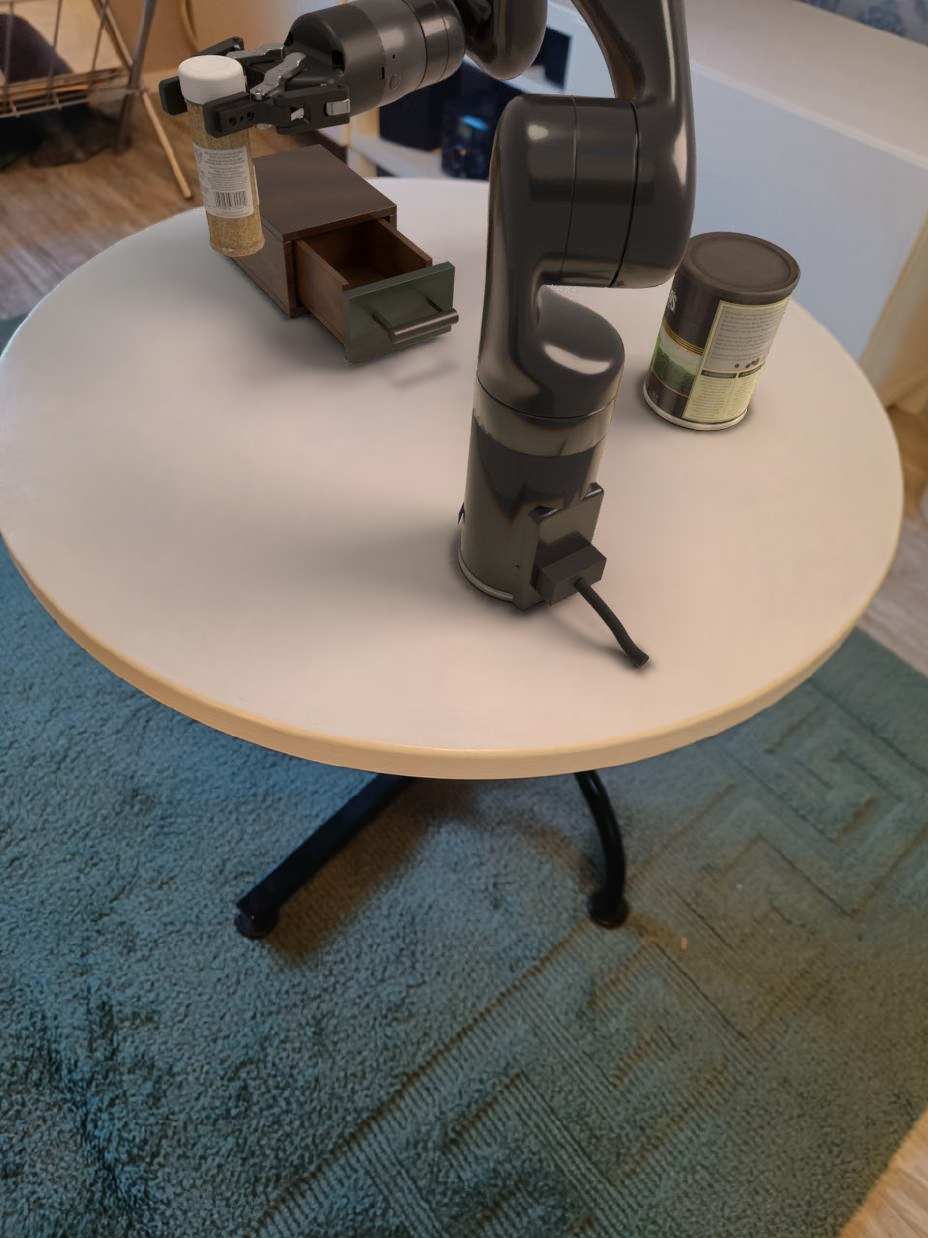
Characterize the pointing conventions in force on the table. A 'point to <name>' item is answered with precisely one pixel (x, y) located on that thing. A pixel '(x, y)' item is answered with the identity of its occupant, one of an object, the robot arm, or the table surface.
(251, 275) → the cabinet
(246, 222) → the sprinkles bottle
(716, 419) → the coffee can
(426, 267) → the drawer
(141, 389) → the table surface
